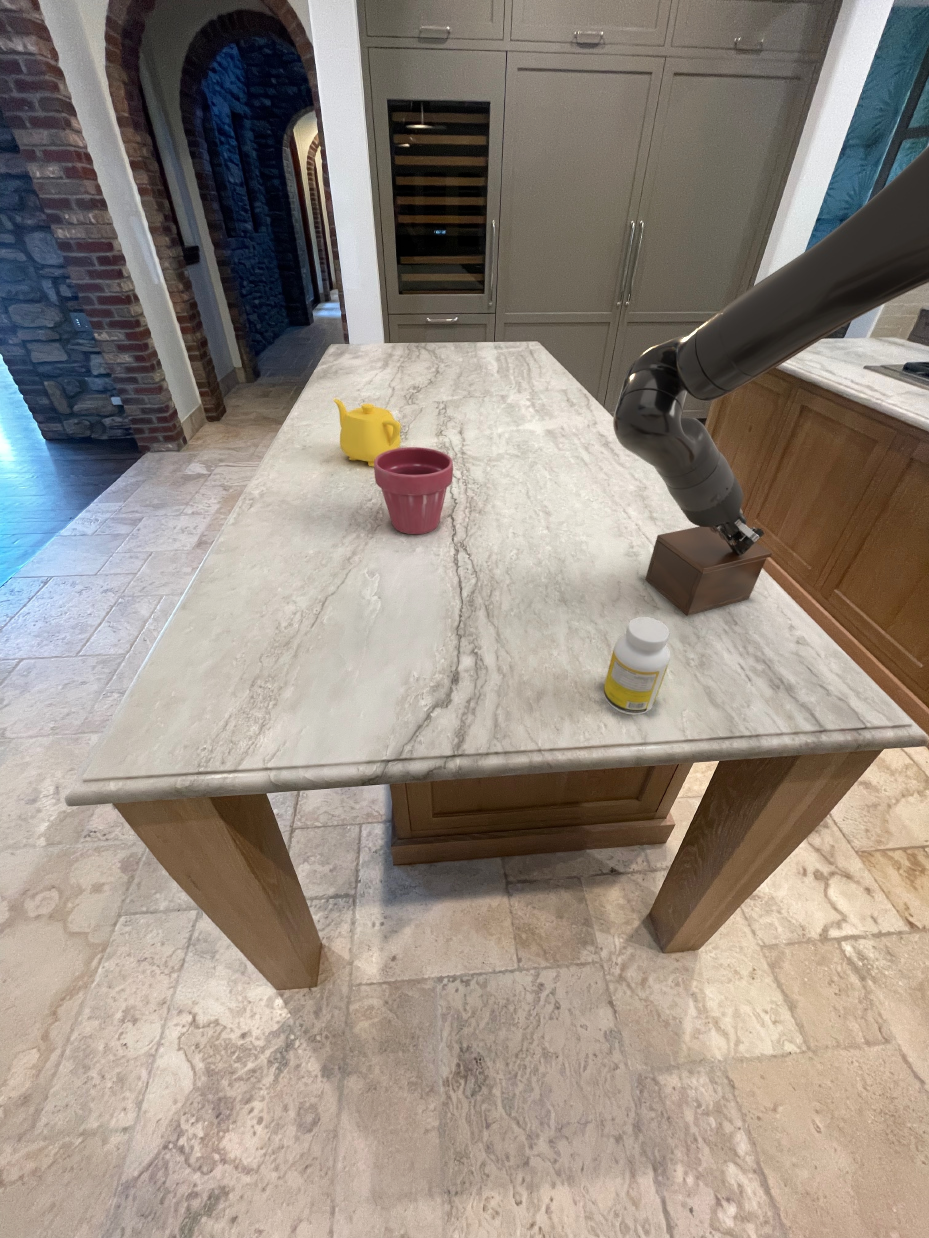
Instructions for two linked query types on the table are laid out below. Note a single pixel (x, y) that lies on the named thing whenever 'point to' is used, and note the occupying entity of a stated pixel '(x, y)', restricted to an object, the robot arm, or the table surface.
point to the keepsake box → (700, 581)
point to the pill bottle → (637, 666)
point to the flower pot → (414, 486)
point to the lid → (708, 549)
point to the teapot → (367, 432)
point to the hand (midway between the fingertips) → (741, 548)
